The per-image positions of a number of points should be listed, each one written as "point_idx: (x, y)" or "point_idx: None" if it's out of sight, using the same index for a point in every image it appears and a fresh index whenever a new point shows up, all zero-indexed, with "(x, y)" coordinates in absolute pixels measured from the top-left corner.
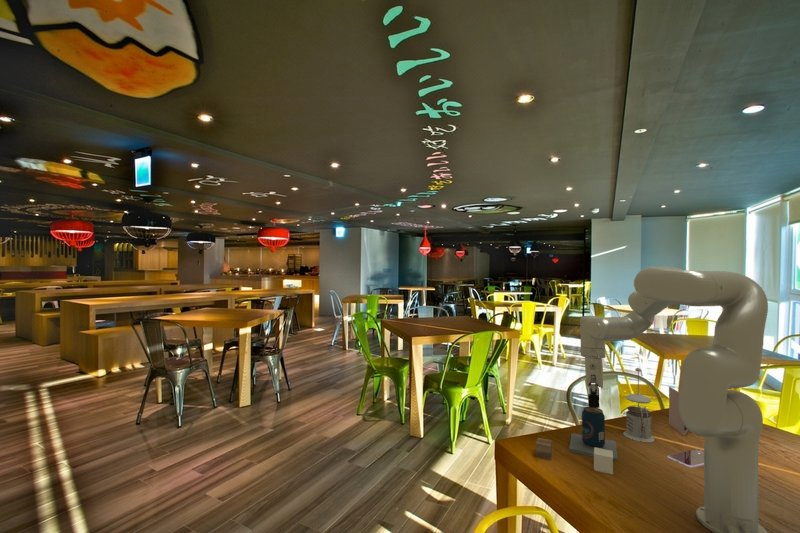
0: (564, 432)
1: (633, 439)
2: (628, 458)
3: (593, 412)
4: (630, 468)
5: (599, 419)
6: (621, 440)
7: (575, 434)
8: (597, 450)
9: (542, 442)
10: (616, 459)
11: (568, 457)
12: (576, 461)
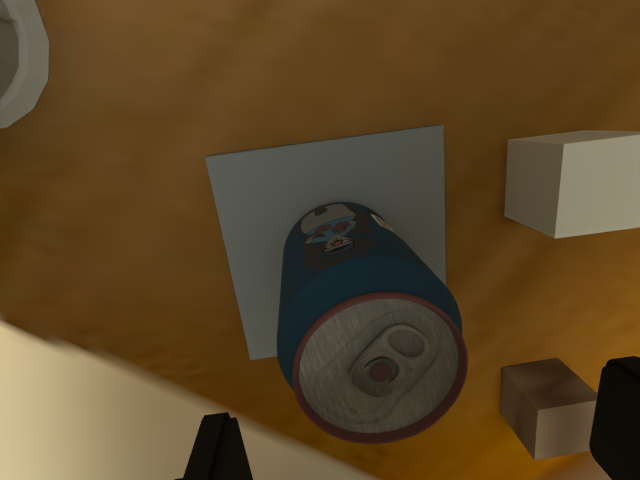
0: (230, 383)
1: (45, 64)
2: (363, 76)
3: (467, 359)
4: (482, 59)
5: (443, 283)
6: (121, 131)
7: (256, 342)
8: (591, 217)
9: (578, 433)
10: (441, 129)
11: (500, 312)
12: (524, 279)
